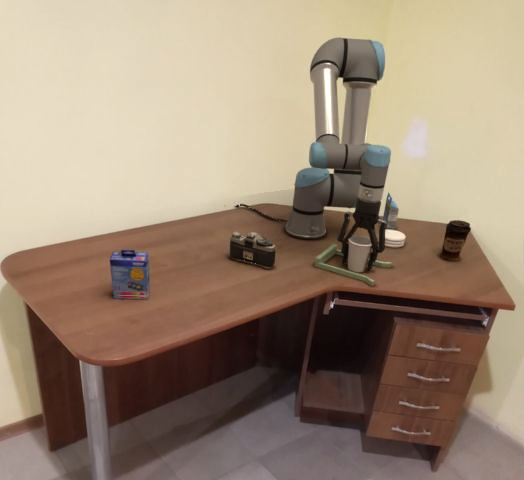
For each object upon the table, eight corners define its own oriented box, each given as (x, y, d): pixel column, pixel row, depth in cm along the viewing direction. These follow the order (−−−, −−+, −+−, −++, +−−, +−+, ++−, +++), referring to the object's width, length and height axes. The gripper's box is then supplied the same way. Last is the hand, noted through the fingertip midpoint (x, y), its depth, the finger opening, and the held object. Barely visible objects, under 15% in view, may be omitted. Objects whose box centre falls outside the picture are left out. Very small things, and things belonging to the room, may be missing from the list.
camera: (282, 260, 175) (285, 231, 169) (269, 271, 167) (272, 242, 161) (240, 249, 180) (242, 221, 174) (226, 259, 172) (227, 230, 166)
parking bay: (312, 267, 171) (313, 259, 170) (334, 250, 185) (335, 242, 183) (372, 286, 163) (374, 277, 162) (391, 266, 177) (393, 258, 175)
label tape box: (395, 229, 207) (402, 199, 200) (385, 228, 207) (391, 198, 200) (391, 221, 214) (397, 192, 208) (381, 220, 214) (387, 191, 208)
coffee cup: (462, 264, 183) (473, 229, 176) (438, 260, 184) (448, 225, 177) (460, 254, 190) (470, 220, 183) (437, 251, 191) (446, 217, 184)
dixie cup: (338, 266, 174) (343, 238, 168) (355, 261, 178) (361, 233, 173) (356, 276, 169) (361, 247, 163) (373, 270, 173) (379, 242, 167)
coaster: (374, 244, 192) (376, 235, 190) (380, 235, 200) (381, 227, 198) (401, 250, 190) (403, 241, 188) (405, 241, 197) (408, 232, 195)
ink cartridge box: (112, 299, 144) (107, 250, 136) (115, 290, 149) (111, 242, 141) (148, 300, 145) (146, 252, 137) (150, 291, 150) (148, 244, 142)
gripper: (333, 194, 162) (323, 261, 174) (398, 209, 154) (382, 279, 166) (342, 189, 167) (332, 254, 180) (405, 203, 159) (390, 271, 172)
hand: (356, 266), depth 173 cm, fingers closed on dixie cup, 8 cm apart
